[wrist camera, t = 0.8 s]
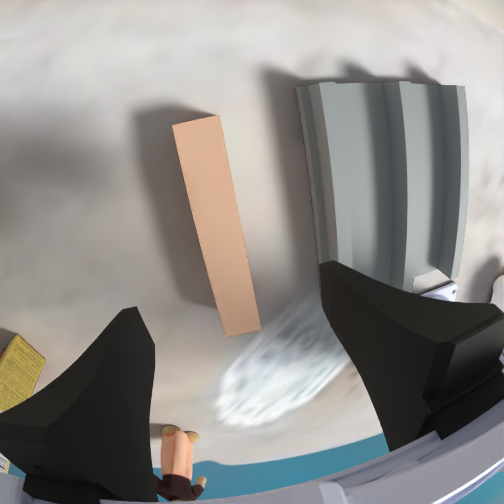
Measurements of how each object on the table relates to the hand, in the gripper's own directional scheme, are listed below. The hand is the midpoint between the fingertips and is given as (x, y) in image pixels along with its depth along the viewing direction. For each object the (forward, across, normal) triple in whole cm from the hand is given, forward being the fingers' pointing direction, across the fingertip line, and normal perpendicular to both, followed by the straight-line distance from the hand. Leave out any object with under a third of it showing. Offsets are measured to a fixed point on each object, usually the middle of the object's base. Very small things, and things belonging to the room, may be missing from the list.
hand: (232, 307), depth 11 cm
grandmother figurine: (+10, +11, +23) cm, 28 cm away
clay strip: (+10, 0, 0) cm, 10 cm away
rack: (+10, -13, 0) cm, 16 cm away
